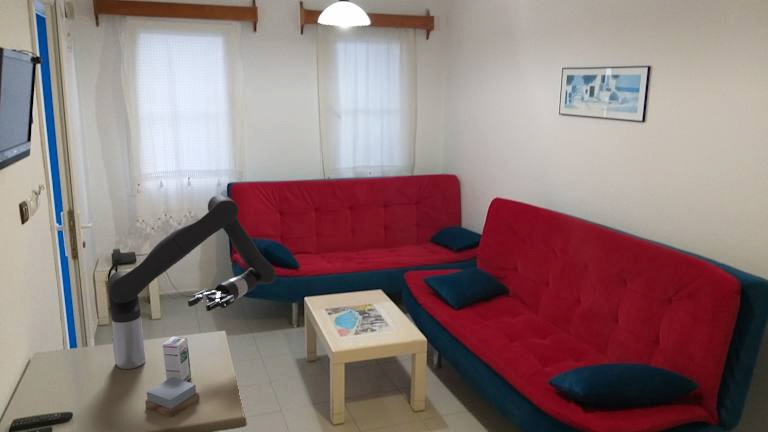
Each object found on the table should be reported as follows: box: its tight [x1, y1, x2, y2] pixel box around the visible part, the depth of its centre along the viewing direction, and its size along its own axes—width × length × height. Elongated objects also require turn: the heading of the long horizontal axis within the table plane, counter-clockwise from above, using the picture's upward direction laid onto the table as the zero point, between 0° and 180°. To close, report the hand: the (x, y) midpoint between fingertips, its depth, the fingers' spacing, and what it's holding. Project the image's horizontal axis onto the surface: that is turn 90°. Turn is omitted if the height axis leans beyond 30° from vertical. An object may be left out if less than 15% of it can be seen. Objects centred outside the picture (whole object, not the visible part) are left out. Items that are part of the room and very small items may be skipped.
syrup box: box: [162, 336, 192, 382], centre depth 194 cm, size 6×6×14 cm
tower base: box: [144, 391, 200, 418], centre depth 182 cm, size 11×11×3 cm
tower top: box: [146, 377, 197, 409], centre depth 181 cm, size 10×10×3 cm
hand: (197, 306), depth 199 cm, fingers open, 8 cm apart
